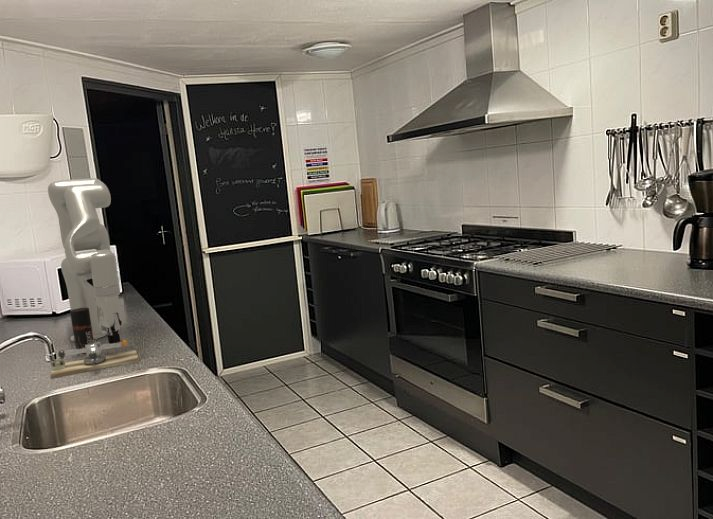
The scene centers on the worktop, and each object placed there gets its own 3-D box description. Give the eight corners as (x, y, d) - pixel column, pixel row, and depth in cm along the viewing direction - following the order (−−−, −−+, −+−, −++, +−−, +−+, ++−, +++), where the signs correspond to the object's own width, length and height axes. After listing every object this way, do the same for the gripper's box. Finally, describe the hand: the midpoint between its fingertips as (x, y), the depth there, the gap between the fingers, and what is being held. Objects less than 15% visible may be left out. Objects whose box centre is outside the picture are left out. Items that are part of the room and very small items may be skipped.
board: (53, 368, 190) (51, 356, 189) (136, 353, 200) (134, 341, 199) (51, 378, 180) (49, 365, 179) (138, 361, 190) (137, 349, 189)
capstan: (62, 358, 195) (59, 342, 194) (128, 346, 203) (125, 331, 202) (57, 375, 177) (54, 358, 176) (130, 362, 184) (127, 345, 183)
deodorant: (88, 354, 203) (81, 311, 201) (72, 354, 205) (66, 312, 202) (98, 349, 209) (92, 307, 207) (83, 349, 210) (77, 307, 208)
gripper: (87, 290, 194) (95, 345, 197) (103, 295, 183) (111, 353, 186) (110, 286, 199) (118, 339, 202) (127, 290, 188) (135, 347, 191)
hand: (115, 346), depth 194 cm, fingers closed
